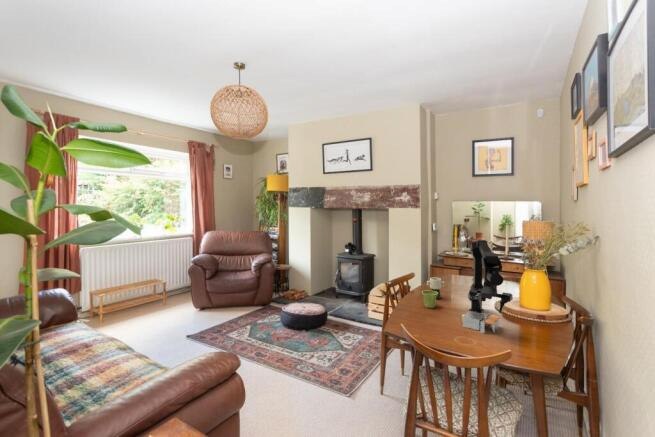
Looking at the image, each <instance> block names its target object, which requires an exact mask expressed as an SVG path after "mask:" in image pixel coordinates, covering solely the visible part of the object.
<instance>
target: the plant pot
mask: <svg viewBox="0 0 655 437" xmlns="http://www.w3.org/2000/svg"><path fill="white" fill-rule="evenodd" d="M421 294H422V296H423V304H424V307H425V308H429V309H433V308H436V302H437V299H436V297H437V294H438V292H436V291H431V289H430V290H422V291H421Z"/></svg>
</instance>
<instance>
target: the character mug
mask: <svg viewBox="0 0 655 437" xmlns="http://www.w3.org/2000/svg"><path fill="white" fill-rule="evenodd" d="M426 286H428V287H430V291H436V292H438V294H437V297H436V300H437V299H441V288H443V287H445V281H442V278H440V277H435V276H433V277H430V278H429V280H426Z"/></svg>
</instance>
